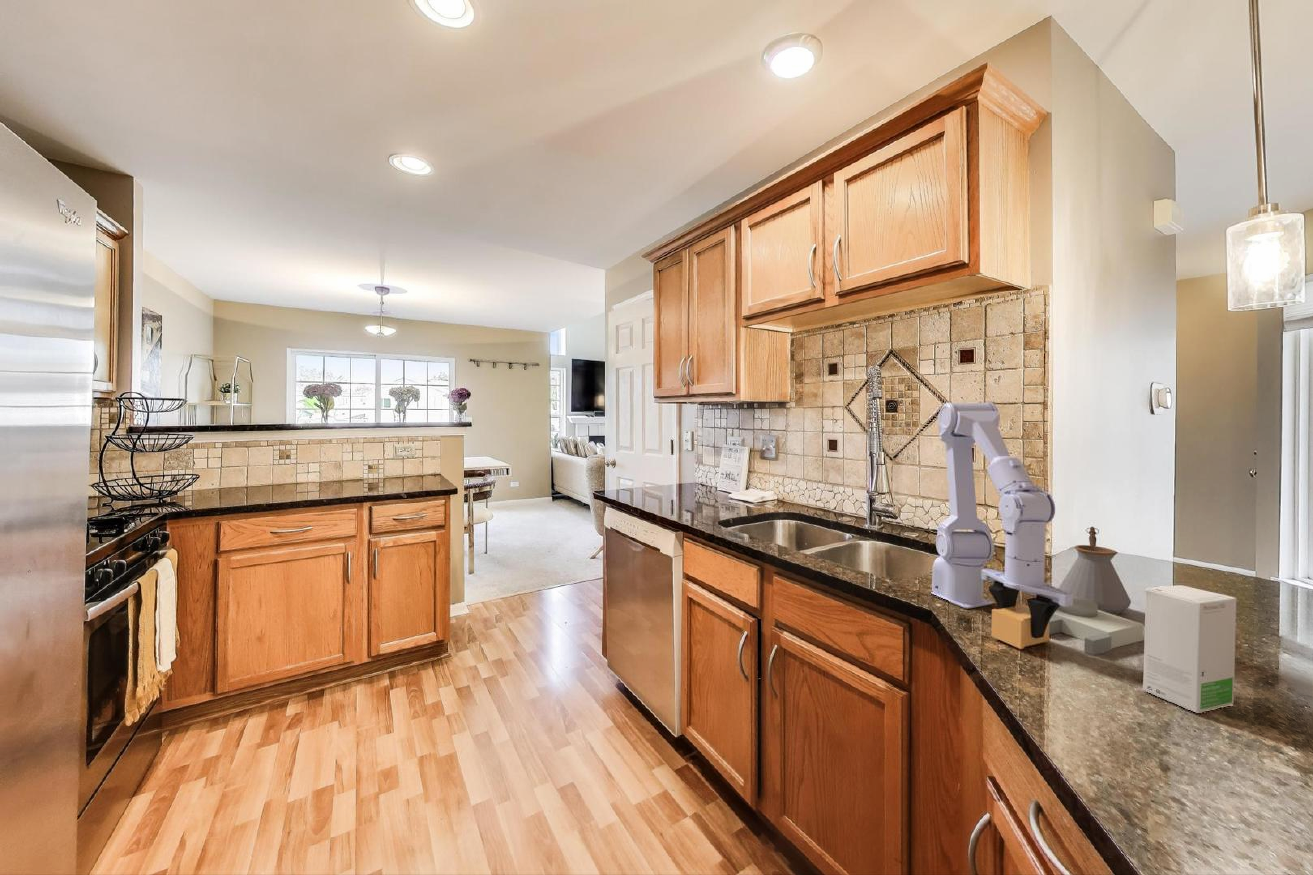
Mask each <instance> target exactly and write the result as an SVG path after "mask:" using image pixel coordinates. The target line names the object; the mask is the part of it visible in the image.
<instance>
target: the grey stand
mask: <svg viewBox="0 0 1313 875" xmlns="http://www.w3.org/2000/svg"><path fill="white" fill-rule="evenodd" d="M1059 633H1064V634H1066V635H1069V636H1071V637H1074V638H1077V639H1079V640H1081V641H1084V643H1083V644H1084V645H1083V646H1084V648H1083V650H1084V651H1083V652H1084V653H1086V654H1089V655H1091V656H1096V655H1098V654H1102V653H1106V652H1111V651H1112V649H1114V648H1118V647H1122V646H1126V645H1130V644H1133V643H1138V642H1142V641H1144V623H1141V622H1137V621H1134V620H1132V619H1128V618H1124V617H1122V616H1119V615H1113V614H1109V613H1106V612H1103V611H1100V610H1098V604H1097V603H1096V602H1094V601H1092V600H1089V599H1085V598H1082V597H1077V596H1073V605H1071V606H1067V607H1064V606H1060V607H1059V608H1058V609H1057V610H1056V611H1055V613H1054V614H1053V616H1052V617H1051V619H1050V623H1049V636H1050V635H1054V634H1059Z"/></svg>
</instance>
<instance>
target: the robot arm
mask: <svg viewBox="0 0 1313 875" xmlns="http://www.w3.org/2000/svg"><path fill="white" fill-rule="evenodd" d="M1000 417H1001V414H1000V412H999V410H998V407H997V406H996V405H995V403H993V402H992V401H989V402H958V403H956V402H955V403H953V402H945V403H944V404H943V405H942V407H941V408H940V410H939V412H938V415H937V426H938V435H939V440H940V441H941V442H943V443H944V445H945V458H946V473H947V474H946V477H947V487H948V489H947V490H948V502H949V516H948V517H947V518H946V519H944V520H943V521H942V522H940V523H939V524H937V534H936V538H935V546H936V551H937V553H938V555H939V556H938V557H937V558H936V559H935V560H934V562H933V564H932V568H931V569H932V571H931V572H932V573H931V575H932V576H931V577H932V578H931V582H932V583H931V591H933V592H931V591H930V592H931V593H932V594H934V595H937V596H939V597H941V598H943V599H946V600H948V601H949V602H948V601H947V602H948V603H951V604H953V605H956V606H958V607H961V608H964V609H973V608H974V609H975V608H979V607H985V606H989V605H993V604H994V603H993V601H991V600H988V599H986V598H984V581H986V582H987V581H990V582H993V584H992V585H989V586H988V592H990V594H991V595H992V598H993V600H994V601H995V604H996V606H997V610H998V609H1003V608H1008V607H1013V606H1017V600H1018V597H1019V593H1020V592H1023V593H1026V594H1029V595H1031V596H1035V597H1031V598H1027V599H1026V601H1027V606H1029V609H1030V614H1031V635H1032V637H1034V638H1041V637H1044V633H1045V630H1046V627H1047V625H1048V623H1049V621H1050V619H1051V617H1052V616H1053V614H1054V613H1055V611H1056V610H1057V609H1058V608H1059V607H1060V606H1064V607H1067V606H1071V605H1073V594H1071V593H1068V592H1065V591H1062V590H1060V589H1058V588H1059V587H1055V586H1053V585H1051V584H1049V583H1046V582H1045V568H1046V567H1045V563H1046V560H1045V559H1046V538H1047V537H1046V534H1047V532H1046V530H1047V529H1046V527H1047V524H1048V523H1050V522H1052V521H1053V519H1054V518H1055V515H1056V504H1055V501H1054V499H1053V497H1052V495H1051V493H1049V492H1048V490H1047V491H1046V490H1043V489H1042V487H1041V486H1039V485H1037V486H1036V485H1035V483H1034V481H1033V480H1032V478H1031V476H1030V474H1029V473H1028V471H1027V469H1026V468H1025V466H1024V464H1023V462H1022V461H1021V460H1020V458H1017V457H1013V456H1011V455H1010V452H1009V450H1008V448H1007V446H1006V444H1005V440H1004V439H1003V437H1002V435H1001V432H1000V430H999V425H1000ZM975 443H976V444H977V446H978V447H979V449H980V451H981V452H982V453H983V455H984V456H985V458H986V459H987V461H988V462H989V465H988V466H987V469H986V472H987V474H988V476H989V478H990V480H991V482H992V484H993V486H994V488H995V490H996V492H997V494H998V495H999V498H1000V501H999V503H998V504H997V505H998V510H999V514H1000V516H1001V521H1002V523H1001V526H1002V529H1003V530H1004V531H1005V540H1004V541H1005V549H1004V571H999V570H995V569H991V568H984V565H988V561H989V560H991V559H992V558H993V556H994V554H995V544H994V543H995V542H994V540H993V538H992V535H991V530H990V526H989V525H988V524H986V523H985V522H984V521H982V520H981V519H980V518H979V517H978V512H977V510H978V509H977V500H976V487H975V486H976V485H975V484H976V482H975V473H974V460H973V458H974V457H973V446H974V445H975ZM957 530H958V531H957ZM959 530H963V531H959ZM964 530H965V531H964ZM970 530H972V531H970ZM941 598H940V599H941ZM943 599H942V600H943ZM946 600H945V601H946Z"/></svg>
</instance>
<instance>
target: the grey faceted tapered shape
mask: <svg viewBox="0 0 1313 875" xmlns="http://www.w3.org/2000/svg"><path fill="white" fill-rule="evenodd" d="M1088 530H1089V531H1088ZM1096 530H1097V531H1098V532H1096ZM1099 530H1100V529H1098V528H1095V527H1094V526H1090V527H1087V528H1086V530H1085V531H1086V533H1088V535H1089V537H1088V542H1089V545H1087V544H1083V545H1082V544H1080V545H1079V544H1078V545H1077V544H1076V545H1075V546H1074V549H1075V550H1076V551H1077V558H1076V559H1075V561H1074V562H1073V564H1072V566H1071V568H1070V569H1069V571H1068V572H1067V574H1066V575H1065V577H1064V578H1063V580H1062V582H1061V583H1060V585H1059V586H1058V587H1057V588H1058V589H1060V590H1062V591H1065V592H1068V593H1071V594H1073V596H1077V597H1082V598H1085V599H1089V600H1092V601H1094V602H1096V603H1097V604H1098V610H1100V611H1103V612H1106V613H1109V614H1113V615H1116V616H1118V613H1122V612H1124V611H1126V610H1127V609H1129V607H1130V606H1131V602H1132V601H1131V599H1130V597H1129V594H1128V593H1127V591H1126V589H1125V587H1124V585H1123V582H1122V581H1121V579H1120V576H1119V575H1118V573H1117V570H1116V569H1115V567H1114V565H1113V563H1112V559H1114V557H1115V556H1116V555H1117V554H1118V553H1119V552H1118V551H1116V550H1114V549H1111V548H1107V547H1101V546H1097V537H1096V535H1098V534H1099V533H1100V531H1099Z"/></svg>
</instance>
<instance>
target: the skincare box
mask: <svg viewBox="0 0 1313 875" xmlns="http://www.w3.org/2000/svg"><path fill="white" fill-rule="evenodd" d="M1144 607H1145V609H1144V610H1145V612H1144V615H1145V618H1144V647H1143V648H1144V650H1143V681H1142V691H1143V692H1145V691H1146V692H1145V693H1147V692H1148V693H1147V694H1149V693H1151V694H1153V695H1155V696H1157V697H1156V698H1158V697H1160V698H1163V699H1165V700H1167V701H1169V702H1172V703H1175V704H1177V705H1179V706H1182V707H1184V708H1186V709H1188V710H1191V711H1193V712H1196V713H1200V712H1204V711H1206V710H1212V709H1214V708H1218V707H1221V706H1227V705H1230V704H1233V703H1235V702H1234V701H1235V700H1234V699H1235V697H1234V696H1235V667H1236V665H1235V663H1236V661H1235V659H1236V627H1237V625H1236V622H1237V597H1234V596H1230V595H1226V594H1221V593H1218V592H1217V593H1216V592H1212V591H1208V590H1203V589H1200V588H1194V587H1192V586H1187V585H1182V584H1180V585H1179V584H1178V585H1176V584H1175V585H1159V586H1156V587H1147V588H1145V606H1144ZM1151 694H1150V695H1151ZM1153 695H1152V696H1153ZM1155 696H1154V697H1155ZM1160 698H1159V699H1160ZM1165 700H1164V701H1165ZM1167 701H1166V702H1167ZM1169 702H1168V703H1169ZM1172 703H1171V704H1172ZM1179 706H1178V707H1179ZM1186 709H1185V710H1186ZM1188 710H1187V711H1188ZM1191 711H1190V712H1191ZM1193 712H1192V713H1193ZM1196 713H1195V714H1196ZM1204 713H1205V712H1204Z"/></svg>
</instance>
